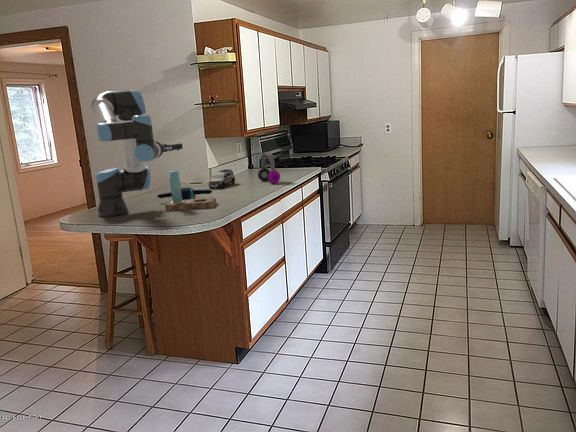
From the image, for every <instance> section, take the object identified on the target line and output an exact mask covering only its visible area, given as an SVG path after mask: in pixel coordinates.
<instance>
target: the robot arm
mask: <svg viewBox="0 0 576 432" xmlns="http://www.w3.org/2000/svg"><path fill="white" fill-rule="evenodd" d="M90 106H91V107H90V108H91V112H92V114H93V115H94V117H96V119H97V122H98V123H97V124H96V131H97V138H98V141H99V142H114V141H115V142H116V141H123V147H124V148H123V149H124V157H125V158H124V159H125V164H124V165H123V169H119V168H118V167H114V168H108V169H104V170H101V171H99V172H97V173H96V174H95V179H96V181H95V183H96V184H97V191H98V192H97V193H98V198H99V203H98V207H97V208H98V209H97V214H98V215H97V216H98V217H103V218H108V217H115V216H116V217H117V216H121V215H124V214H127V213H129V207H128V205H127V203H126V201H125V198H124V197H123V194H124V193H128V192H135V191H137V192H138V191H143V190H147V189H149V188H150V186H151V185H150V184H151V172H150V171H151V170H150V168H149V167H147V165H146V162H150V161H154V160H155V159H159V158H160V157H161V156H162V155H163V154H164V153H167V152H172V151H175V150H176V151H180V150H183V143H181V142H176V143H171V144H165V143H163V144H161V143H160V142H159V141H156V140H154V131H153V124H152V118H151V116H150V115H149V114H146V113H147V111H146V104H145V101H144V98H143V95H142V93H141V91H140V90H138V89H128V90H127V89H126V90H108V91H104V92H102V93H99V94H98V95H96V97H94V98H93V100H92V102H91V105H90ZM116 116H117V117H116ZM117 118H118V119H117Z"/></svg>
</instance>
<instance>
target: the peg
mask: <svg viewBox="0 0 576 432" xmlns="http://www.w3.org/2000/svg"><path fill="white" fill-rule="evenodd" d="M179 173H180V172H179V170H169V171H168V177H169V186H170V192H171V194H172V197H171V201H173V203H179V202H182V194H181V188H182V187H181V179H180V174H179Z"/></svg>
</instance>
